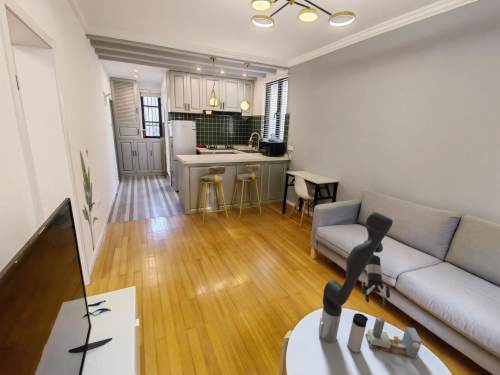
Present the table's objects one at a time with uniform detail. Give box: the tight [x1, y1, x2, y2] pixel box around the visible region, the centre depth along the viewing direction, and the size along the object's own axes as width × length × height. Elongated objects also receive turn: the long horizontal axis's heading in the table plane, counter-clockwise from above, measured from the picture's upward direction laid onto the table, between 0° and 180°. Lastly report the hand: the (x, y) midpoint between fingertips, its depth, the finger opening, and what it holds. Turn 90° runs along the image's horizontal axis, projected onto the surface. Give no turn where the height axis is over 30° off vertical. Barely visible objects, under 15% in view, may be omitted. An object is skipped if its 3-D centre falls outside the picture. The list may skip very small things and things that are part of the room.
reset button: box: [393, 335, 402, 345], centre depth 123 cm, size 3×4×4 cm
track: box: [365, 333, 418, 360], centre depth 125 cm, size 22×8×2 cm, turn 77°
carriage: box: [367, 316, 391, 348], centre depth 124 cm, size 9×7×13 cm
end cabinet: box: [401, 326, 423, 357], centre depth 121 cm, size 4×8×10 cm, turn 167°
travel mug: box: [346, 312, 369, 354], centre depth 120 cm, size 6×7×20 cm
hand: (376, 304), depth 130 cm, fingers open, 8 cm apart
